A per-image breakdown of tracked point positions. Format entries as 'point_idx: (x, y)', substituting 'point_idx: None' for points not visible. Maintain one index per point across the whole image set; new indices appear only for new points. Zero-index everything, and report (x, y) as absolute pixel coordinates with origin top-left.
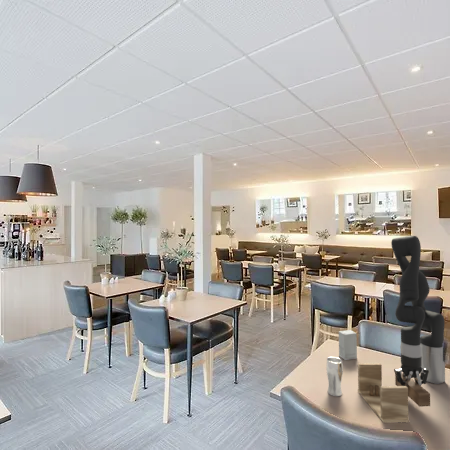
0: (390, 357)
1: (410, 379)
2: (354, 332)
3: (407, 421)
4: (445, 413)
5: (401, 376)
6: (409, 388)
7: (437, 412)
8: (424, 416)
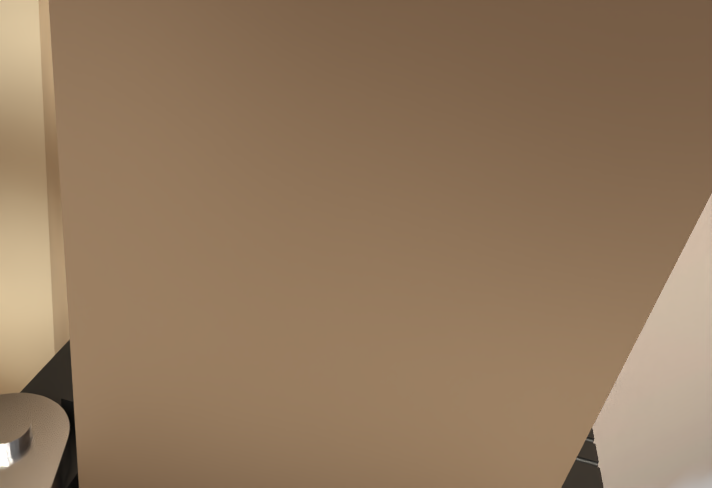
0: None
1: (470, 438)
2: None
3: None
4: (708, 477)
5: (233, 61)
6: None
7: (618, 432)
8: None
